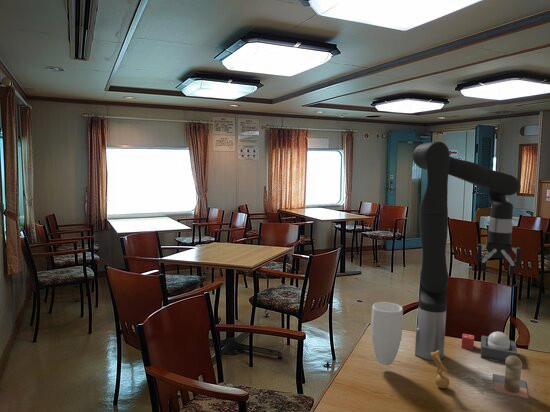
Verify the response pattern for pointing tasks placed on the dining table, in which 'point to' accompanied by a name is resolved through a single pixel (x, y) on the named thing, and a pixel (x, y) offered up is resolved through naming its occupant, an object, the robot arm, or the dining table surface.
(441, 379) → the figurine
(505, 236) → the robot arm
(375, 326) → the cup
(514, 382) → the wooden pawn
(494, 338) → the white ball
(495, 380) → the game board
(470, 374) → the dining table surface
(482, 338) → the dark grey square tray
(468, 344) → the red die
